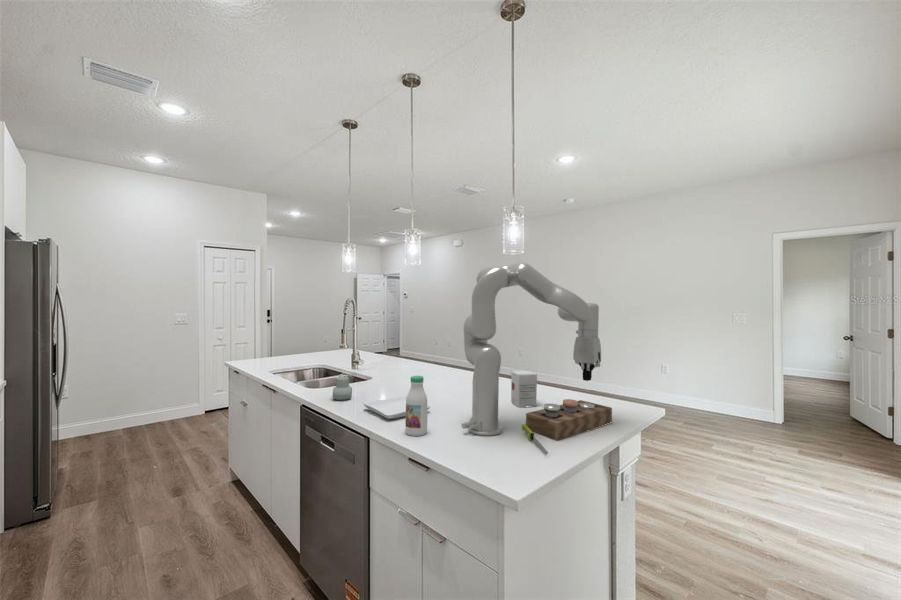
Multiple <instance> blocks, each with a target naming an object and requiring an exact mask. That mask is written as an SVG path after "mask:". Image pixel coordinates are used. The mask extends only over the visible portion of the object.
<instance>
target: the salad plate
mask: <svg viewBox="0 0 901 600" xmlns="http://www.w3.org/2000/svg"><path fill="white" fill-rule="evenodd" d="M406 399H407V396H406V397H405V396H399V397H393V398H386V399H380V400H375V401H369V402H363V406H364V407H365V408H366V409H368V410H369V411H371V412H373V413H375V414H377V415H379V416H381V417H384V418H386V419H388V420H395V419H400V418H406ZM430 408H431V405H428V404H427V411H429V409H430Z"/></svg>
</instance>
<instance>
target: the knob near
mask: <svg viewBox="0 0 901 600" xmlns="http://www.w3.org/2000/svg"><path fill="white" fill-rule="evenodd" d="M559 405H560V404H556V403H545V404H543V409H544V410H545V417H549V418H552V419H555V418H559V411H560V406H559Z"/></svg>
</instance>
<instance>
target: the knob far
mask: <svg viewBox="0 0 901 600" xmlns="http://www.w3.org/2000/svg"><path fill="white" fill-rule="evenodd" d="M580 407H583V408H587V409H592V408H595V405H594V404H590V403H580Z"/></svg>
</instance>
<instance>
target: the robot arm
mask: <svg viewBox="0 0 901 600" xmlns="http://www.w3.org/2000/svg"><path fill="white" fill-rule="evenodd" d="M515 286H519V287H521V288H522V289H523V290H525V291H526V292H527V293H528V294H530V295H531V296H532V297H534V298H535V299H536V300H538V301H540V302H542V303H544V304H549V305H552V306H554V307H558V309H557V315H558V316H559V318H560V319H561V320H563V321H567V322H576V323H578V324H577V325H578V328H577V330H575V334H577V336H576V337H575V340H574V345H573V354H572V355H573V357H572V358H573V361H574V363H575V364H576V365H578V366H580V368H581V370H582V380H583V381H585V382H588V381H589V382H590V381H592V374H593V373H592V372H593V370H594V369H595V368H600V367H601V362H602V346H601V340H600V338H599V319H600V317H599V316H600V315H599V312H600V311H599V310H600V308H599V305H598V304H597V303H595V302H593V303H591V302H588V303H587V302H586V301H585V300H584V299H582V298H581V297H580V296H578V295H577V294H576V293H574V292H572V291H570V290H568V289H566V288H564V287H562V286H561V285H558V284H557V283H554V282H552V281H551V280H550V279H548V278H547V277H546V276H544V275H543V274H542V273H541V272H539V271H538V270H537V269H535V268H534V267H533V266H532V265H531V264H529V263H526V262H519V263H518V262H517V263H513V264H508V265H504V266H496V265H495V266H491V267H490V266H489V267H487V268H483V269H481V270H480V271H479V272H478V273H477V276H476V284H475V286H474V288H473V292H472V294H471V314H469V315H468V316H467V318H466V319H465V321H464V323H463V343H464V345H463V346H464V353H465V359H466V360H467V362H468V363H469V364H471V365H473V366H474V369H473V375H472V397H471V398H472V402H471V403H472V405H471V406H472V407H471V408H472V409H471V413H472V415H471V416H472V417H470V418H469V421H468V422H463V423H461V428H462V429H463V430H464V429H467V431H468V432H469V433H471V434H474V435H476V436H477V435H478V436H484V437H486V436H487V437H488V436H498V435H499V434H501V433H502V432H503V427H502V425H501V424H499V391H500V390H499V388H500V387H499V386H500V385H499V384H500V383H499V381H500V370H501V365H502V355H501V353H500V352H501V351H500V350H499V349H498V348H497V347H496V346H495V345H493V344H491V343H488V340H491V339H493V338H494V336H495V335H496V333H497V319H496V318H497V317H496V297H497V295H498V293H499V291H500V290H502V289H504V288H509V287H515Z"/></svg>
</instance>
